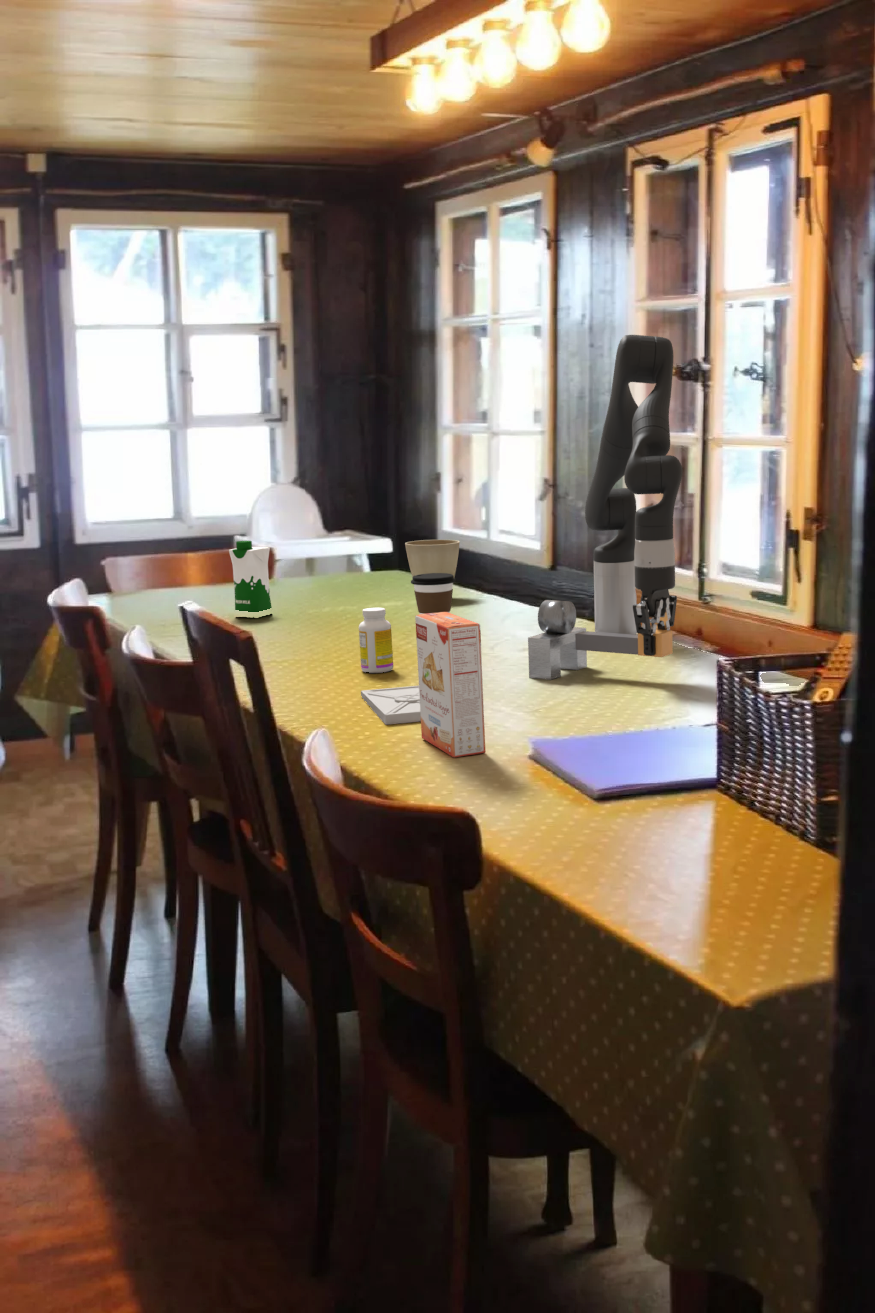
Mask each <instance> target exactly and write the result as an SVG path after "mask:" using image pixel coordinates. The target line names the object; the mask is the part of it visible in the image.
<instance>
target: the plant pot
mask: <svg viewBox="0 0 875 1313" xmlns="http://www.w3.org/2000/svg"><path fill="white" fill-rule="evenodd" d="M460 543H461V542H460V540H456V539H423V540H422V539H421V540H414V541H413V540H412V541H407V542H405V543H404V545H405V551H406V556H407V560H408V565H409V569H410V573H411V577H413V576H415V575H419V574H428V573H448V574H452V575H454V577H455V576H456V572H457V567H458V566H457V565H458V561H459V560H458V558H459V552H460Z"/></svg>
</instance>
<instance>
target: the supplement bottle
mask: <svg viewBox="0 0 875 1313" xmlns="http://www.w3.org/2000/svg"><path fill="white" fill-rule="evenodd" d="M386 612H387V611H386V608H384V607H368V608H363V609H362V616H363V621H361V622H360V623H359V625H358V638H359V653H360V654H359V655H360V656H359V657H360V668H361V671H362V672H364V673H366V672H369V673H368V674H383V672H384V673H388V672H390V671H392V670H393V669H394V657H393V656H394V655H393V653H394V652H393V640H392V638H393V636H392V625H391V622H389V620H387V619H386V617H385V616H386Z"/></svg>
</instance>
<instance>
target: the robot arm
mask: <svg viewBox="0 0 875 1313" xmlns="http://www.w3.org/2000/svg"><path fill="white" fill-rule="evenodd" d="M615 353H616V355H615V359H614V368H613V376H612V383H611V384H612V386H611V391H610V392H611V393H610V397H609V398H610V399H609V403H608V407H607V412H606V415H605V419H604V423H603V428H602V434H601V437H600V438H601V439H600V444H599V451H598V456H597V462H596V466H595V470H594V473H593V477H592V480H591V483H590V487H589V491H588V493H587V497H586V502H585V507H584V518H585V522H586V525H587V527H588V528H589V529H591V530H592V531H599V532H601V531H605V532H606V531H617V534H616V535H615V536H614V537H613V538H612V539H611V540H609V541H607V542H606V543H603V544H600V545H599V546H596V547H595V548H594V549H593V555H592V556H593V559H592V560H593V586H594V587H593V590H594V591H593V593H594V594H593V595H594V596H593V597H594V632H604V633H618V634H632V635H637V634H638V633H639V634H642V635H643V640H644V654H645V655H649V656H648V657H652V656H653V655H655V654H656V636H655V634H656V629H658V630H671V627H674V625H675V620H676V619H675V618H676V609H677V602H678V596H677V595H671V594H670V592H669V590H672V589H674V588H675V586H676V551H675V550H676V549H675V543H674V513H675V507H676V501H677V498H678V493H679V489H680V486H681V483H682V479H683V466H682V463H681V461H680V460H679V458H677V457H676V455H675V456H674V455H672V454H671V455H669V454H668V453H669V452H670V450H671V449H670V448H671V433H670V432H671V431H670V406H671V405H670V404H671V397H672V389H673V388H672V387H673V375H674V374H673V373H674V347H673V344H672V342H671V340H670V339H669V338H667V337H662V336H656V335H655V336H654V335H645V334H644V335H641V334H640V335H639V334H626V335H624V336H622V337H621V339H620V341H619V343H618V345H617V349H616V352H615ZM630 383H636V384H637V383H639V384H653V385H654V388H652V390H651V391H650V393H649V394H648V396H646V398H645V399H644V400H643V401H642V402H641V403H640V404H639V405H638V404H637V402H636V401H635V399H634V397H633V394H632V392H631V388H630ZM623 477H624V484H625V487H617V488H616V487H615V485H616V484H617V483H618V482H619V481H620V480H621V479H622V478H623ZM614 487H615V488H614ZM658 494H660V495H662V498H661V500H659V502H658V503H655V504H652V505H649V506H645V507H641V508H639V509H637V500H636V496H635V495H658ZM636 589H637V590H640V591H641V597H640V602H639V603H637V592H636Z"/></svg>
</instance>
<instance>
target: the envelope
mask: <svg viewBox="0 0 875 1313" xmlns="http://www.w3.org/2000/svg"><path fill="white" fill-rule="evenodd" d="M361 696H362V698H363V699H364V700H363V699H362V698H361V699H362V700H363V701H364V702H365V701H366V702H367V703H366V702H365V703H366V704H367V706H368V705H369V706H370V707H371V708H372V709H371V708H370V707H369V706H368V707H369V708H370V709H371V710H372V711H373V713H375V715H376V714H377V715H376V716H377V717H378V718H379V719H380V721H382V723H383V724H384V725H397V724H398V725H399V724H407V723H418V722H421V714H420V695H419V685H409V686H400V687H399V686H398V687H389V688H388V687H387V688H376V689H375V688H374V689H363V690H360V697H361Z"/></svg>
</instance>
